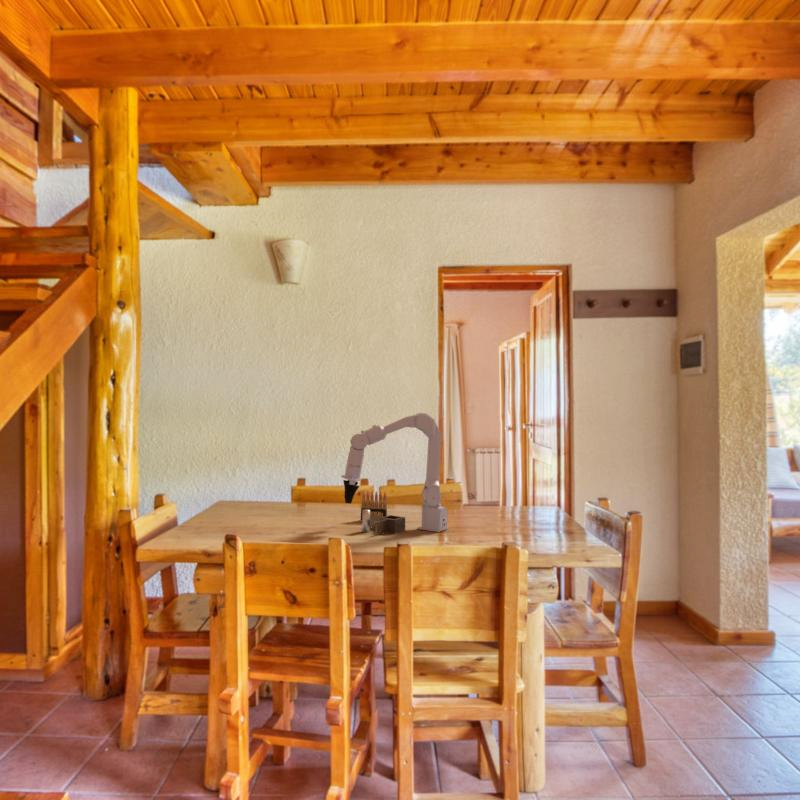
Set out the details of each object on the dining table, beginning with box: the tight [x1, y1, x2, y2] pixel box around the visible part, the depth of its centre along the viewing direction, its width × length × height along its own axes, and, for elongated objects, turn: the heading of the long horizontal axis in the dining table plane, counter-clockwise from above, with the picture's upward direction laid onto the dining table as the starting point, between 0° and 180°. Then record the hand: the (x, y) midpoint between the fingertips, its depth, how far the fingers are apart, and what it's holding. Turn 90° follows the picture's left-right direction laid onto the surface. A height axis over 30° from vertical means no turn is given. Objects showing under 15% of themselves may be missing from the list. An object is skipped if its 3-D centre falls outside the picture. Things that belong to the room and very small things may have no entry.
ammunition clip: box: [360, 490, 388, 520], centre depth 243 cm, size 11×2×12 cm, turn 79°
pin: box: [361, 509, 371, 533], centre depth 223 cm, size 3×3×8 cm
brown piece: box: [370, 514, 406, 536], centre depth 224 cm, size 14×14×5 cm
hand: (347, 501), depth 226 cm, fingers open, 7 cm apart
